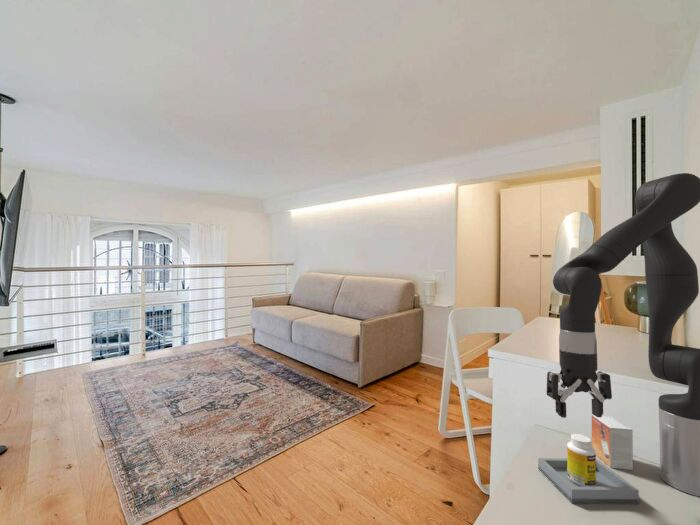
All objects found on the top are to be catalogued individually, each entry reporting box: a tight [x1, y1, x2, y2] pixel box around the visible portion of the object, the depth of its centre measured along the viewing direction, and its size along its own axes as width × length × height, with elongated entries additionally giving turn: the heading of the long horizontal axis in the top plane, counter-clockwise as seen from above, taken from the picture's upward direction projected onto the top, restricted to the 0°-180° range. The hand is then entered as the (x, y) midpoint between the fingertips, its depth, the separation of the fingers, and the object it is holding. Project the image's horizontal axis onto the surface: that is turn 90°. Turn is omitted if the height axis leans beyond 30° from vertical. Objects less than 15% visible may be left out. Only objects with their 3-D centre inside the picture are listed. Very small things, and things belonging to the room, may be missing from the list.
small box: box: [591, 414, 634, 471], centre depth 86 cm, size 8×6×10 cm
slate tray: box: [537, 457, 640, 505], centre depth 76 cm, size 15×12×3 cm
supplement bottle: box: [566, 433, 597, 487], centre depth 76 cm, size 6×6×10 cm
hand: (579, 416), depth 76 cm, fingers open, 8 cm apart
